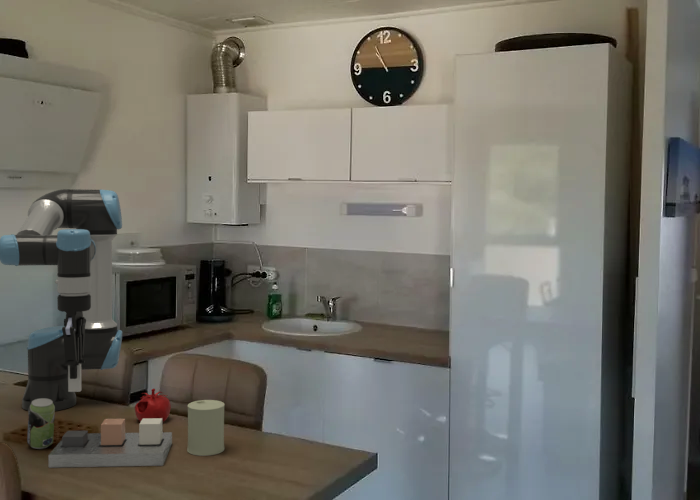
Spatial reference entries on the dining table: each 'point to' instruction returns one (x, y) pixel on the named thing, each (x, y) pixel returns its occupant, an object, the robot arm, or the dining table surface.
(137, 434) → the key panel
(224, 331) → the dining table surface
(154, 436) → the cream key
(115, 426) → the terracotta key
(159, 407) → the pomegranate
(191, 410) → the can
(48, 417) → the beverage can
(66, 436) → the charcoal key
